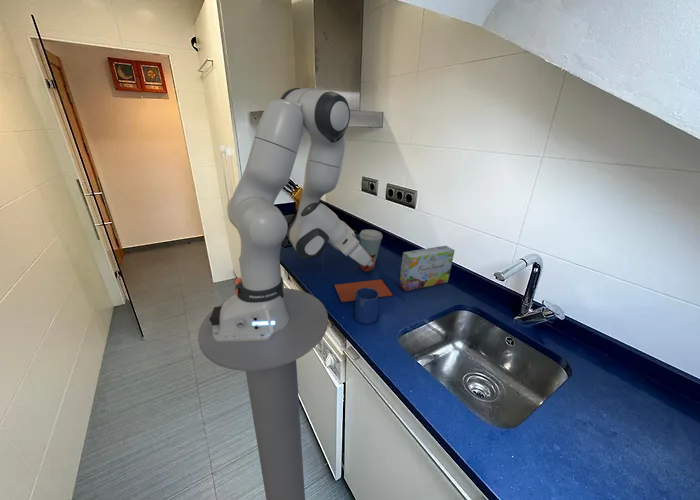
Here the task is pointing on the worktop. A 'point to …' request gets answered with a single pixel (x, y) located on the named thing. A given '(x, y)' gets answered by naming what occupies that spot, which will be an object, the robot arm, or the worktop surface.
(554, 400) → the worktop surface
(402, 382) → the worktop surface
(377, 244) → the disposable coffee cup
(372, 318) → the blue cup
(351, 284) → the red mat
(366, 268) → the pomegranate
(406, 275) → the snack box
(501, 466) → the worktop surface
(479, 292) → the worktop surface
